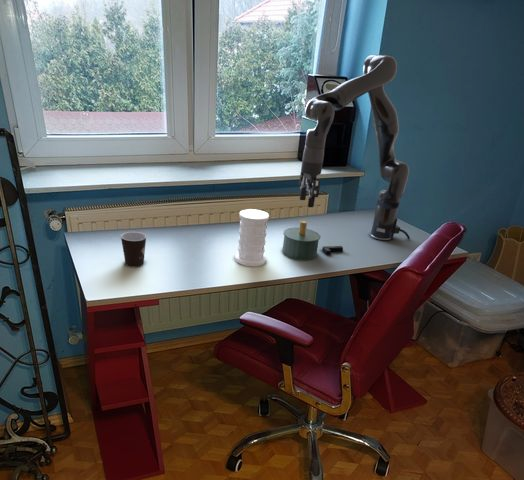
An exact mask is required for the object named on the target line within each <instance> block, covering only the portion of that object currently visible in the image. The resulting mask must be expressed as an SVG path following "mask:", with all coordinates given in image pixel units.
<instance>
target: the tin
mask: <svg viewBox="0 0 524 480" xmlns="http://www.w3.org/2000/svg"><path fill="white" fill-rule="evenodd" d="M319 241H320V239H319V240H318V241H315V242H298V241H294V240H291V239H288V238H287V237H285V236H284V235H283V242H282V254H283V255H284V256H286V257H287V258H290V259H292V260H298V261H309V260H313V259H315V258H316V256H317V254H318V253H317V252H318V248H319Z"/></svg>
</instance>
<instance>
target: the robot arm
mask: <svg viewBox="0 0 524 480" xmlns="http://www.w3.org/2000/svg"><path fill="white" fill-rule="evenodd" d="M397 70H398V63H397V60H396V59H395V57H393V56H390V55H387V54H370V55H368V56H367V57H366V58H365V59H364V62H363V67H362V72H363V74H362V75H360V76H357V77H354V78H351V79H349V80H346V81H344V82H342V83H341V84H339V85H337V86H336V87H334V88H333V89H332V90H330V91H327V92H324V93H322V94H319V95H317V96H314V97H312V99H310V100H309V101H308V102H307V104H306V107H305V110H304V112H305V116H306V117H307V118H308V119H309V120H311V121H312V122H317V123H316V126H315V127H313V128H312V127H311V128H309V129H308V130H307V131H306V137H305V142H304V143H305V144H304V149H303V155H302V160H301V169H300V175H299V181H298V187H299V190H300V193H299V201H306V199H307V193H308V201H307V208H314V206H315V200H316V198H319V195H320V187H321V180H317V179H318V176H320V175H321V174H322V170H323V164H324V159H325V158H324V157H325V148H326V140H327V135H328V133H329V131H330V128H331V125H332V124H333V121H334V118H335V111H340V110H342V109H344V108H345V107H347V106H348V105H349V104H351V103H352V102H354V101H355V100H357V99H359V98H360V97H362V96H363V95H365V94H368V98H369V102H370V107H371V112H372V120H373V126H374V132H375V137H376V142H377V143H376V145H377V150H378V163H379V174H380V177H381V178H382V180H384V181H385V182H388V186H387V189H386V188H385V189H381V190H380V191H379V193H378V198H377V203H376V207H375V212H374V216H373V221H372V225H371V230H370V234H369V235H370V237H371V238H373V239H375V240H379V241H391V240H393V239H394V235H395V234H400V232H401V233H402V234H404V235H405V236H406V238H407V239H408V240H410V238H411V237H410V235H409V233H408V232H406V230H404V229H401V226H399V225H398V224H397V223H398V217H397V215H398V210H399V206H400V202H401V199H402V197H403V194H404V193H405V190H406V186H407V183H408V179H409V175H410V167H409V165H408V164H407V163H406V162H404V161H401V160H398V159H397V158H396V154H395V143H396V140H397V138H398V136H399V132H400V123H399V117H398V111H397V109H396V108H395V106H394V104H393V103H392V102H391V100H390V97H388V95H387V93H386V91H385V88H384V86H385V85H387V84H389V83H391V82H392V81H393V80H394V79H395V77H396V75H397Z"/></svg>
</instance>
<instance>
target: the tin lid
mask: <svg viewBox="0 0 524 480" xmlns="http://www.w3.org/2000/svg"><path fill="white" fill-rule="evenodd" d="M307 225H308V222H307V221H306V220H300V222H299V227H289V228H286V229H284V230H283V231H282V232H283V233H282V234H283V237H284V236H285V237H287V238H288V239H291V240H294V241H298V242H315V241H318V240H319V241H320V239H321V235H320V233H318V232H317V231H315V230H313V229H310V228H307ZM319 241H318V242H319Z"/></svg>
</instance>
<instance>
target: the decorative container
mask: <svg viewBox="0 0 524 480" xmlns="http://www.w3.org/2000/svg"><path fill="white" fill-rule="evenodd" d="M238 217H239V219H240V221H239V231H238V235H239V237H238V246H237V253H236V254H235V256H234V257H235V258H234V259H235V262H236V263H238V264H240V265H242V266H247V267H259V266H263V265H264V264H265V263H266V260H267V258H266V256H265V254H264V253H265V246H266V238H267V237H266V236H267V229H268V223H267V222H269V219H270V214H269V213H268V212H266V211H264V210H261V209H253V208H246V209H242V210H240V211H239V216H238Z"/></svg>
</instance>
